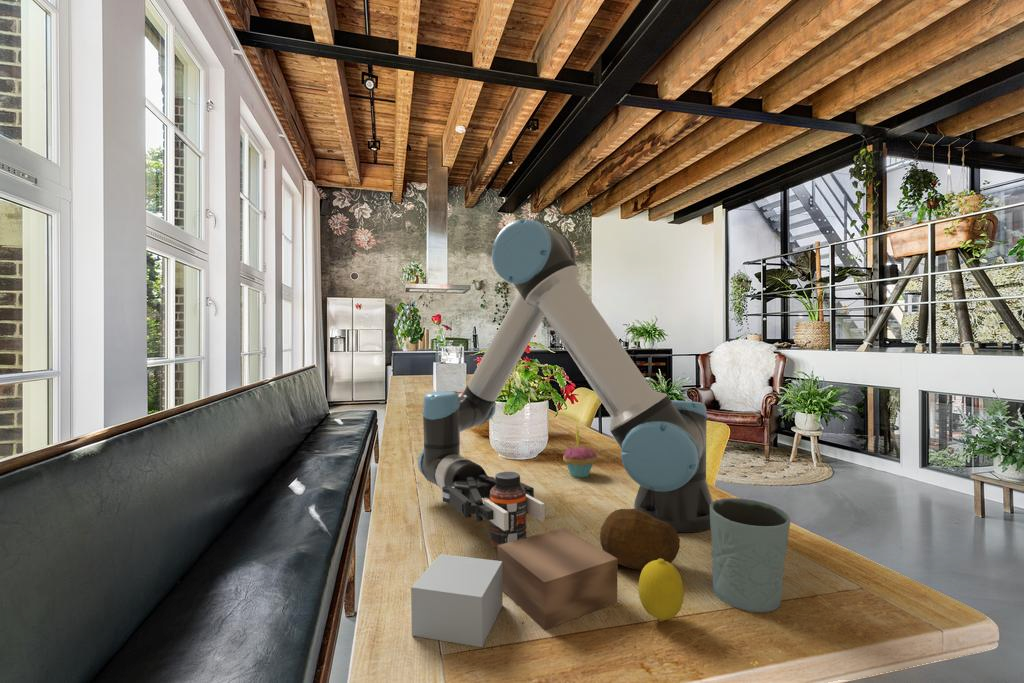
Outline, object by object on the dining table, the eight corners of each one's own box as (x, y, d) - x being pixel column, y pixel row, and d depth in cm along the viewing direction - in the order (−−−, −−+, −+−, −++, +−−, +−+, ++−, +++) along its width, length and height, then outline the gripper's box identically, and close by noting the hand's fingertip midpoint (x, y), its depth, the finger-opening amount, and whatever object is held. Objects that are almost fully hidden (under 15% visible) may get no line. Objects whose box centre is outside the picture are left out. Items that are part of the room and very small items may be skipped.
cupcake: (557, 471, 127) (557, 425, 127) (587, 468, 130) (587, 423, 129) (571, 481, 119) (571, 432, 119) (603, 478, 122) (603, 429, 121)
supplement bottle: (523, 553, 77) (522, 481, 77) (486, 550, 78) (484, 479, 78) (529, 536, 83) (528, 470, 82) (495, 534, 84) (493, 468, 84)
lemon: (674, 607, 66) (674, 548, 66) (690, 633, 60) (691, 569, 60) (633, 608, 66) (633, 549, 65) (645, 635, 60) (646, 570, 60)
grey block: (502, 605, 67) (502, 561, 66) (482, 647, 58) (481, 597, 58) (440, 596, 69) (440, 553, 69) (411, 635, 60) (411, 587, 60)
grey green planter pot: (728, 570, 76) (729, 493, 75) (800, 597, 68) (802, 511, 68) (695, 594, 69) (695, 509, 69) (771, 627, 62) (772, 532, 61)
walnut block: (564, 565, 78) (564, 527, 77) (617, 602, 67) (617, 558, 67) (497, 586, 71) (497, 545, 71) (544, 630, 61) (544, 582, 61)
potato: (671, 588, 71) (671, 528, 70) (591, 569, 76) (591, 513, 76) (680, 563, 78) (681, 508, 78) (607, 547, 84) (607, 496, 84)
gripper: (504, 488, 101) (574, 527, 81) (415, 507, 91) (469, 556, 71) (503, 452, 101) (573, 482, 81) (414, 466, 91) (468, 504, 71)
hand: (524, 516), depth 76 cm, fingers closed on supplement bottle, 6 cm apart
